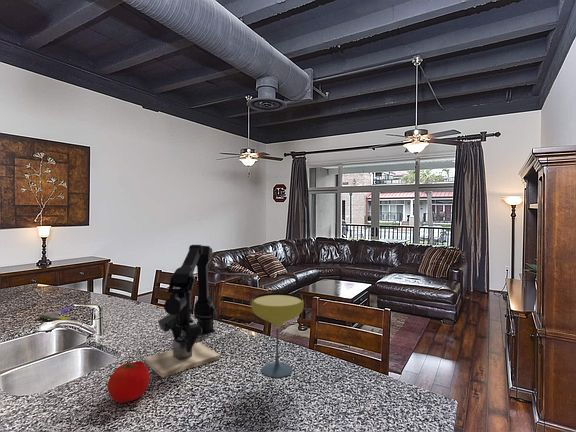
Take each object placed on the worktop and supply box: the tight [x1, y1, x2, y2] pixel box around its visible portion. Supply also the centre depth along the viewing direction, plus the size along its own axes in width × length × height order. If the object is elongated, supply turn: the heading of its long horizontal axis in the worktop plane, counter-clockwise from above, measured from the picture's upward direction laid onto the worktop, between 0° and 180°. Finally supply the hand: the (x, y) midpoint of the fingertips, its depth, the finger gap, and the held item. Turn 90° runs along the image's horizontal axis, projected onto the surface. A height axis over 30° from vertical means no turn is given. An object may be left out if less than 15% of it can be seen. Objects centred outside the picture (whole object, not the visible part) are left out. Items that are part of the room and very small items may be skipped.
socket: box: [172, 336, 192, 360], centre depth 129 cm, size 5×5×7 cm
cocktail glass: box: [250, 292, 305, 379], centre depth 121 cm, size 18×18×25 cm
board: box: [144, 342, 221, 379], centre depth 129 cm, size 22×16×6 cm
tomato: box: [106, 360, 150, 404], centre depth 103 cm, size 11×13×10 cm
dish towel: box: [37, 303, 104, 320], centre depth 181 cm, size 18×24×3 cm
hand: (182, 348), depth 129 cm, fingers open, 9 cm apart
